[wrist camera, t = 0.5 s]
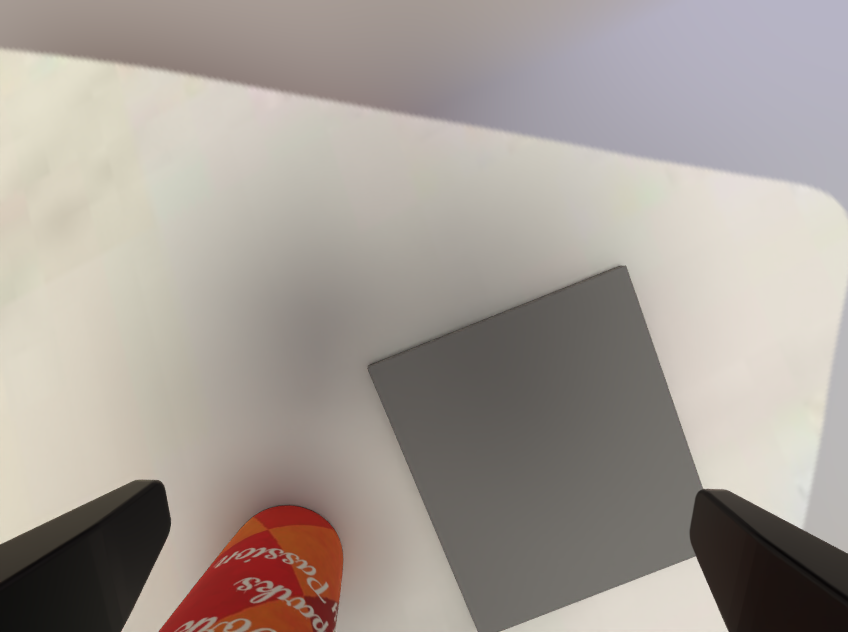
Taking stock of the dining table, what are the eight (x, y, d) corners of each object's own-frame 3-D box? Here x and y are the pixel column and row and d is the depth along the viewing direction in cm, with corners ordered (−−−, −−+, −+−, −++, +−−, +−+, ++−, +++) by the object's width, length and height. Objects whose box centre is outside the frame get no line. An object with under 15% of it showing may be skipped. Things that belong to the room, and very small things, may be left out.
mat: (479, 629, 25) (480, 638, 24) (368, 365, 23) (367, 368, 22) (715, 538, 24) (722, 546, 24) (620, 265, 23) (626, 265, 22)
